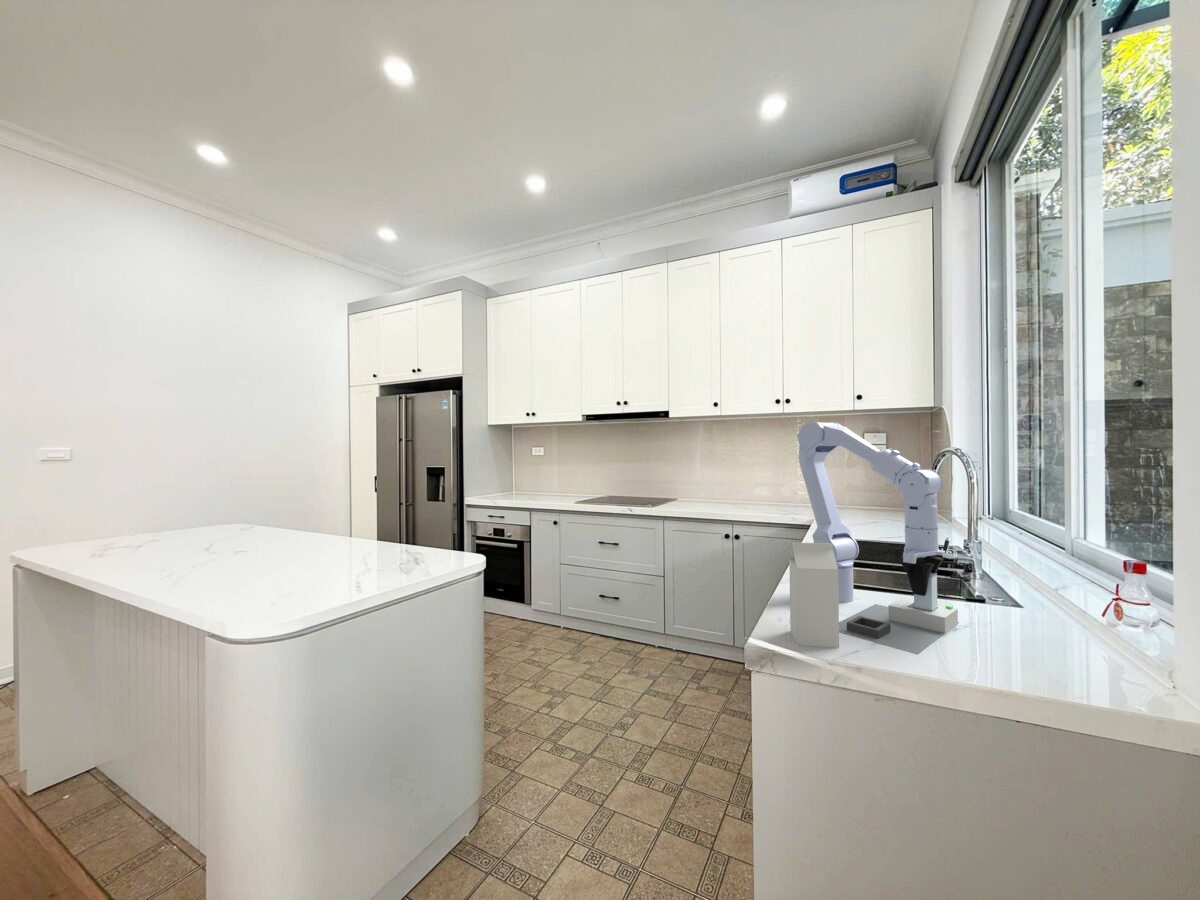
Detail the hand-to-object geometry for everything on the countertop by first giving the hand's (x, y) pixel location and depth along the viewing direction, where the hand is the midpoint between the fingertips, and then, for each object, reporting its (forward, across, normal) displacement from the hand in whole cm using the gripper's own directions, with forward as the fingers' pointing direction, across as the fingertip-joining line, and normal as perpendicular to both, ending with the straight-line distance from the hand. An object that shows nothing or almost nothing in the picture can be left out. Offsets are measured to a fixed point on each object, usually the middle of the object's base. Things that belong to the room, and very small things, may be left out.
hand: (922, 592), depth 98 cm
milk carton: (+7, -26, +10) cm, 29 cm away
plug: (+3, 0, -1) cm, 3 cm away
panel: (+7, -7, +3) cm, 10 cm away
